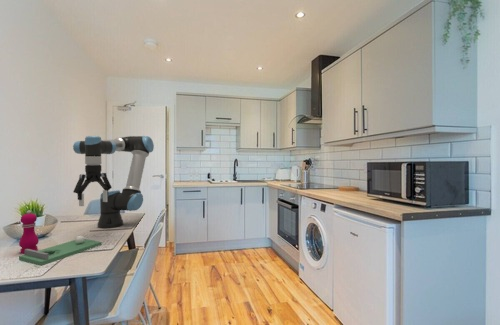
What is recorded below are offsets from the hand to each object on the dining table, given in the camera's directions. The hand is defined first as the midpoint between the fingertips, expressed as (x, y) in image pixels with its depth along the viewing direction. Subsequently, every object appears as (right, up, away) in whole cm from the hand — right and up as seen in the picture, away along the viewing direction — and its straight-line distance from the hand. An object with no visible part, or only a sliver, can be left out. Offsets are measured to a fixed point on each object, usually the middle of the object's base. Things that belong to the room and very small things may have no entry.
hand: (93, 203), depth 139 cm
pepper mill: (-23, -21, -14) cm, 34 cm away
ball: (-3, -17, -7) cm, 19 cm away
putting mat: (-6, -21, -15) cm, 26 cm away
